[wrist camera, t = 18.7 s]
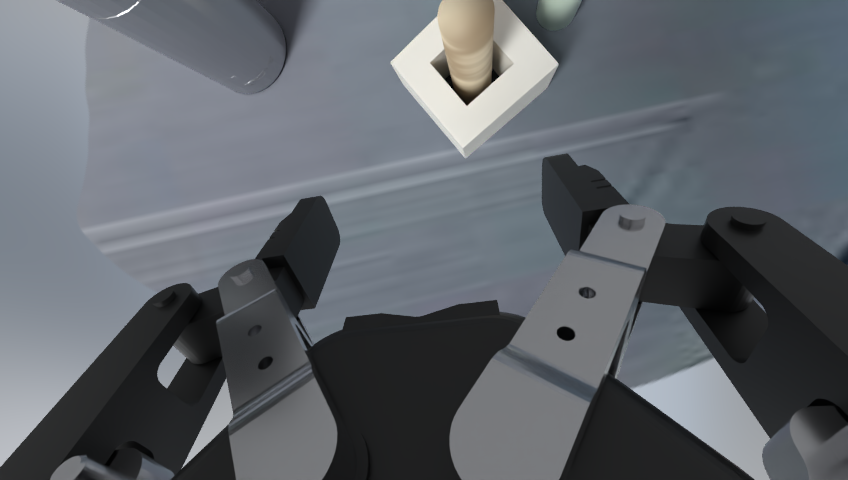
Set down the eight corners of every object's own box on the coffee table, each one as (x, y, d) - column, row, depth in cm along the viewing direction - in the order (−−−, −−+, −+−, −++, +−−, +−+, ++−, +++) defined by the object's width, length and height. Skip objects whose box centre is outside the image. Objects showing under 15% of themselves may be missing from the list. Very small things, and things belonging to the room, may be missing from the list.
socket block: (403, 85, 34) (361, 13, 22) (480, 11, 32) (478, -109, 20) (465, 158, 33) (456, 125, 21) (547, 88, 31) (585, 9, 19)
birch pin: (447, 87, 33) (426, 14, 21) (475, 61, 32) (469, -29, 21) (469, 114, 33) (461, 55, 21) (498, 88, 32) (506, 13, 20)
